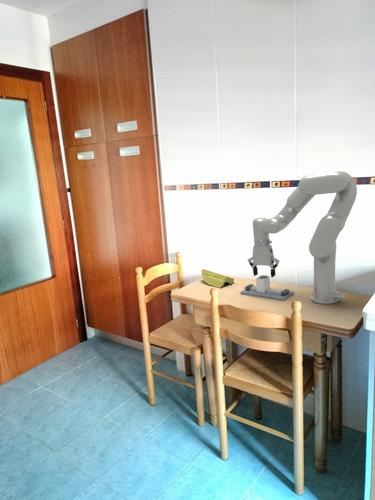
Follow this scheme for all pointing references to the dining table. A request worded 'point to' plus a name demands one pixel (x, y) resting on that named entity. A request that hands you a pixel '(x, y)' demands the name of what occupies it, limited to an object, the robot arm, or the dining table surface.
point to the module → (262, 283)
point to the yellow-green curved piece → (215, 278)
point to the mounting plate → (267, 295)
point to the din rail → (268, 290)
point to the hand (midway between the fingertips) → (264, 275)
